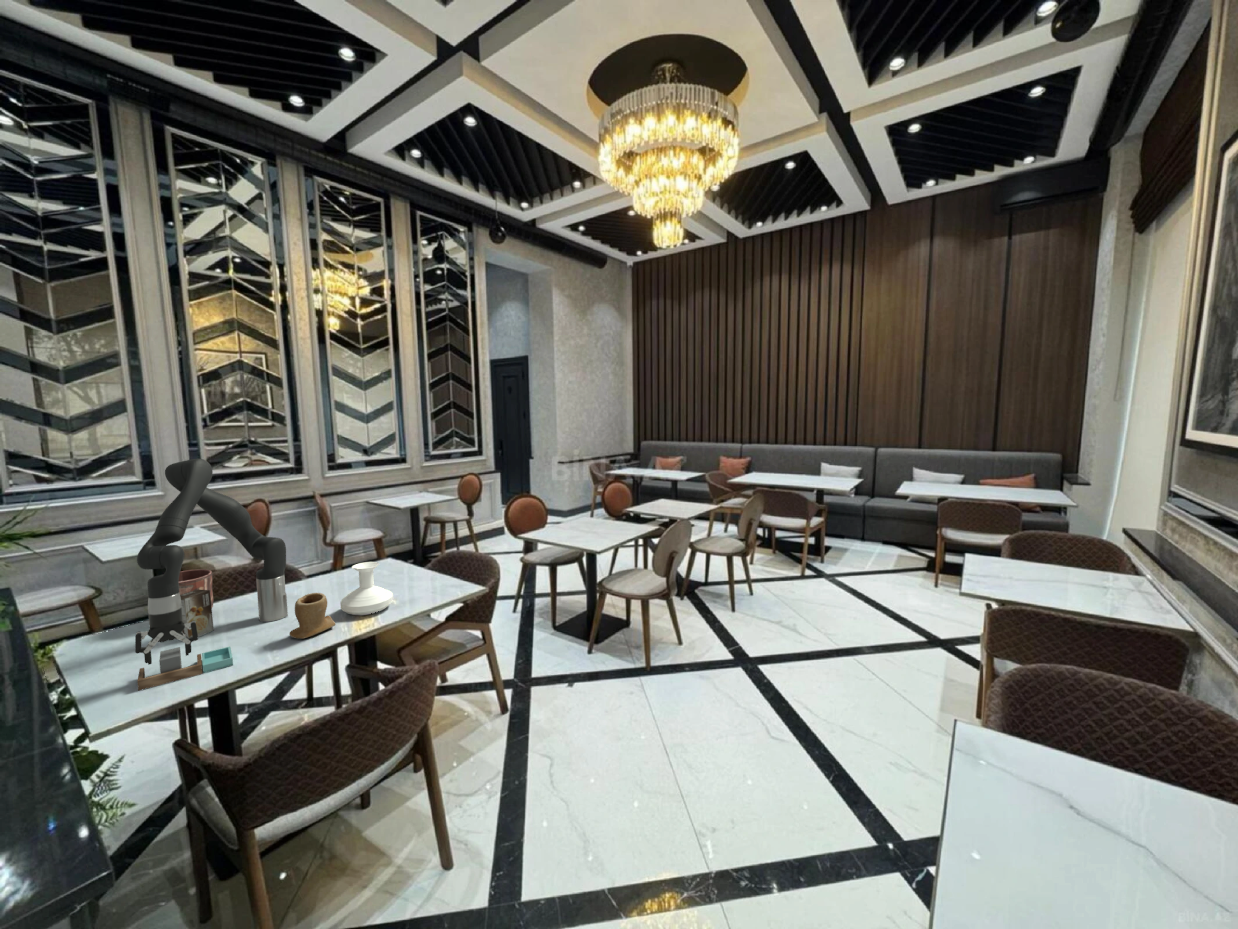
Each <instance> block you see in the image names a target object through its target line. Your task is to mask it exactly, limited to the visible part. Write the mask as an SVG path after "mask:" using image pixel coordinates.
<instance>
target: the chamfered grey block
mask: <svg viewBox="0 0 1238 929" xmlns="http://www.w3.org/2000/svg"><path fill="white" fill-rule="evenodd" d="M158 662H159V670H160V671H159V672H160V673H159V674H161V673H165V672H169V671H173V670H177V669H181V668H183V666H182V654H181V647H180V646H179V647H174V648H170V649H165V650H162V651H160V652H159V661H158Z"/></svg>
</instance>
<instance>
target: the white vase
mask: <svg viewBox="0 0 1238 929" xmlns="http://www.w3.org/2000/svg"><path fill="white" fill-rule="evenodd" d="M379 566H380V563H379V562H376V561H365V562H359V563H357V564H354V565H352V566H351V568H352V569H353V570H356V571H357V572H358V580H359V587H357V588H356V589H354V590H353V591H351V592H350V593H348V594H347V595H345V596H344V597H343V598H342V599H341V601H340V604H339V605H340V609H341V610H342V611H343V613H347V614H349V615H353V616H366V615H371V613H372V614H375V612H376V613H379V612H381V611H383V610H385V609H387V607H388V606H389V607H390V605H391V604H392V603H394V602H393V601H394V593H393V592H392V591H391V590H389V589H387V588H383V587H381V586H377V585H375V582H374V581H375V580H374V570H375V569H376V568H377V567H379ZM378 611H379V612H378Z"/></svg>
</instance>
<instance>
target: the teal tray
mask: <svg viewBox="0 0 1238 929" xmlns="http://www.w3.org/2000/svg"><path fill="white" fill-rule="evenodd" d="M233 659H234V658H233V654H232V648H231V646H226V647H222V648H217V649H213V650H209V651H205V652H203V653H201V660H202V674H206V673H209V672H212V671H216V670H217V671H218V670H220V669H224V668H227V667H228V668H229V667H231V666H234V661H233Z"/></svg>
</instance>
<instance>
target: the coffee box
mask: <svg viewBox="0 0 1238 929" xmlns="http://www.w3.org/2000/svg"><path fill="white" fill-rule="evenodd" d="M180 597H181V604H182V605H181V607H182V621H183V623H184V624H186V623H190V622H191V621H193V620H194V621H196V627H197V633H198V638H199V637H202V636H204V635H206V634H208V633H210V632H213V631H214V630H215V629H214V628H215V627H214V619H213V618H214V616H213V607H211V596H210V590H194V591H191V592H187V593H184V594H181V595H180ZM182 633H184V634H185V635H186V636H187V637H189V638H190V637H192V630H191V629H190V630H189V629H188V628H187V627H185V628H184V629H183V631H182ZM175 640H178V641H180V640H179V639H177V638H176V639H175Z"/></svg>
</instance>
